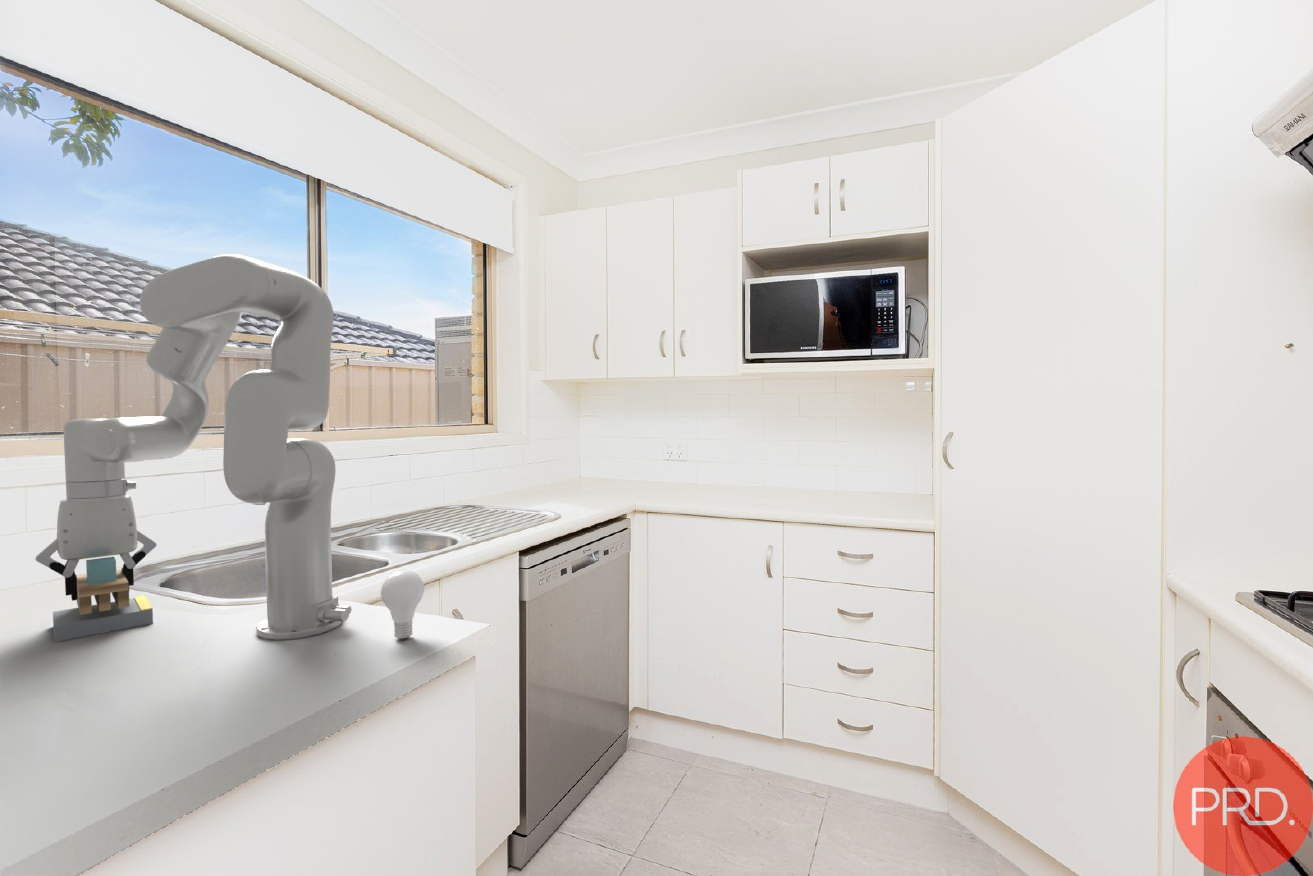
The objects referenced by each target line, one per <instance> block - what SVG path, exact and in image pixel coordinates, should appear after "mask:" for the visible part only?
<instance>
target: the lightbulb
mask: <svg viewBox="0 0 1313 876" xmlns="http://www.w3.org/2000/svg"><path fill="white" fill-rule="evenodd" d="M424 592H425V585H424V581H423V580H422V578H421V576H420V575H419V574H418V573H416V572H414V571H412V570H410V569H409V570H408V569H399V570H396V571H393V572H392V573H390V574H389V575H387V577H386V578H385V579H384V581H383V583H382V584H381V587H380V597H381V600H382V602H383V604H384V606H385V607H387V609H388V610H389V611H390V615H391V619H392V621H393V625H394V626H393V628H394V631H393V632H394V634H393V636H394V637H395V638H397V639H398V640H406V639H408V638H410V637H411V636H412V635H413V619H414V616H415V613H416V609H417V607H418V605H419V603H420V602H421V600H422V599H423V596H424Z"/></svg>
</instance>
